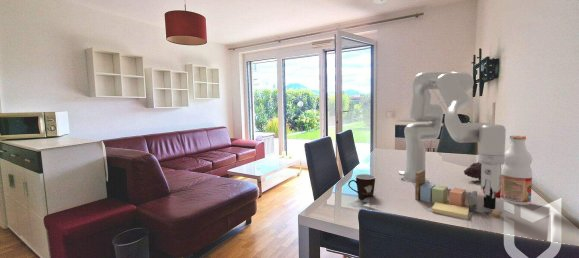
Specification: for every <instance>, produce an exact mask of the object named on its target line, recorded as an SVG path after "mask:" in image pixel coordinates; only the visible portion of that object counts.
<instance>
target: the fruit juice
mask: <svg viewBox="0 0 579 258" xmlns="http://www.w3.org/2000/svg"><path fill="white" fill-rule="evenodd" d="M509 140H510V142H509V145H508V148H507V149H505V162H504V164H502V165H501V182H502V186H501V194H500V197H499V198H500V200H502V201H503V202H506V203H509V204H514V205H521V206H522V205H523V206H526V205H531V204H532V187H533V186H532V185H533V184H532V181H533V170H532V167H531V165H532V162H533V156H532V154H531V153H530V152H529V151H528V150H527V146H526V141H527V137H526V136H525V135H510V136H509Z"/></svg>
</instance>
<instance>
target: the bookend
mask: <svg viewBox="0 0 579 258" xmlns="http://www.w3.org/2000/svg"><path fill="white" fill-rule="evenodd" d="M468 204H469V211H470V212H475V213H474V214H477V213H479V214H478V215H481V214H484V215H483V216H486V215H488V216H487V217H490V216H489V214H490V213H491V211H492V209H489V208H485V207H484V205H483V206H481V205H478V191H476V190H472V192H471V193H469V195H468Z"/></svg>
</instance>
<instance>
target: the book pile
mask: <svg viewBox="0 0 579 258" xmlns="http://www.w3.org/2000/svg"><path fill="white" fill-rule="evenodd" d="M426 211H428V212H431V213H435V214H440V215H443V216H448V217H452V218H456V219H458V220H459V219H460V220H464V221H468V220H469V219H470V218H471V217H472V215H473V214H474V213H473V212H469V208H466V207H460V206H455V205H449V204H444V203H438V202H435V204H432V205H431V206H430V207H429V208H427V210H426Z"/></svg>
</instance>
